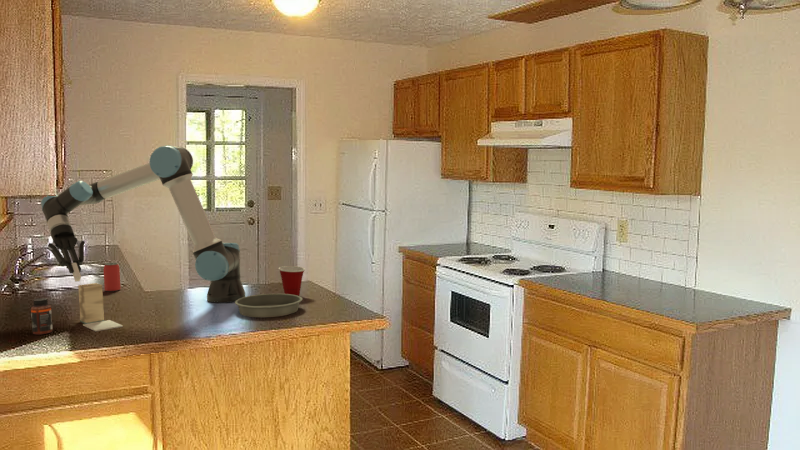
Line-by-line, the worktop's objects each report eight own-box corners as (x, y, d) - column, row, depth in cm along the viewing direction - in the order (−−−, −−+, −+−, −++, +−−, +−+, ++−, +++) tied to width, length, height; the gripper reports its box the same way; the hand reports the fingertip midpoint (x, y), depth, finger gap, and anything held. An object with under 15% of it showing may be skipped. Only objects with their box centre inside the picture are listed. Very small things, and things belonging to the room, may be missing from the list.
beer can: (101, 291, 295) (99, 264, 294) (112, 288, 301) (111, 262, 300) (112, 292, 292) (111, 264, 291) (124, 289, 299) (122, 262, 297)
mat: (82, 325, 231) (82, 324, 231) (109, 321, 237) (109, 319, 237) (95, 331, 222) (95, 330, 222) (122, 326, 229) (122, 325, 229)
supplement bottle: (57, 331, 224) (54, 297, 222) (42, 335, 218) (40, 301, 217) (43, 330, 225) (41, 296, 224) (28, 334, 220) (25, 300, 219)
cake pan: (307, 315, 242) (307, 303, 241) (237, 321, 235) (236, 308, 235) (297, 302, 265) (297, 291, 265) (233, 307, 258) (233, 295, 258)
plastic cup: (298, 299, 270) (297, 270, 269) (274, 298, 273) (273, 269, 272) (310, 294, 280) (309, 266, 279) (287, 293, 284) (286, 265, 282)
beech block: (80, 321, 237) (78, 285, 236) (98, 318, 241) (95, 283, 240) (86, 324, 233) (84, 287, 232) (104, 321, 237) (102, 285, 236)
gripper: (77, 235, 260) (94, 283, 249) (40, 237, 251) (56, 287, 240) (81, 222, 255) (99, 270, 245) (43, 224, 246) (60, 274, 236)
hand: (78, 279), depth 242 cm, fingers closed
